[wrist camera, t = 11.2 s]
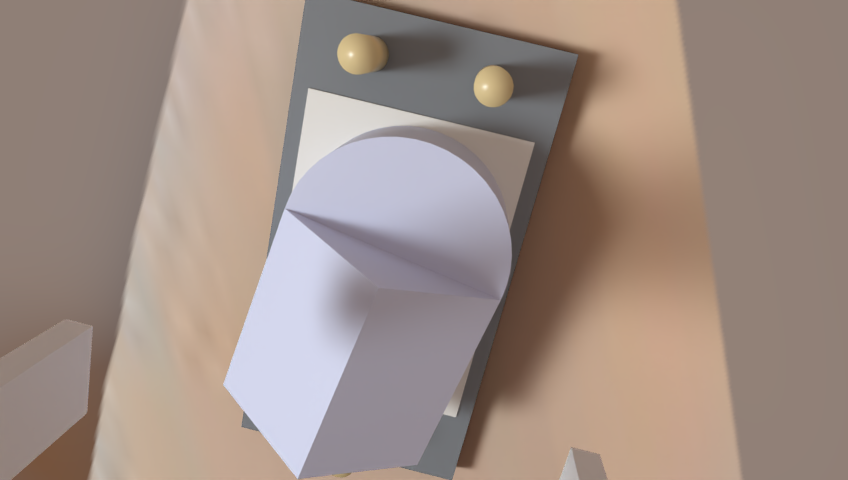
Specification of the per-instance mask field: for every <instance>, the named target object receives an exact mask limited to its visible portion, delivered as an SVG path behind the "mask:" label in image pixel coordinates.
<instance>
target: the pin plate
mask: <svg viewBox="0 0 848 480" xmlns="http://www.w3.org/2000/svg"><path fill="white" fill-rule="evenodd" d="M577 58H578V54H574V53H570V52H566V51H561V50H557V49H553V48H549V47H545V46H540V45H536V44H532V43H528V42H524V41H520V40H515V39H511V38H507V37H503V36H499V35H494V34H490V33H486V32H482V31H478V30H473V29H469V28H465V27H461V26H457V25H453V24H448V23H444V22H440V21H436V20H432V19H427V18H423V17H419V16H415V15H411V14H406V13H402V12H398V11H394V10H390V9H386V8H381V7H377V6H373V5H369V4H365V3H360V2H356V1H352V0H305V5H304V12H303V19H302V25H301V32H300V39H299V45H298V52H297V59H296V66H295V72H294V79H293V86H292V92H291V99H290V106H289V112H288V119H287V126H286V132H285V139H284V146H283V152H282V159H281V166H280V173H279V179H278V186H277V193H276V199H275V206H274V213H273V219H272V226H271V233H270V239H269V246H268V253H267V258H268V255H269V252H270V249H271V246H272V243H273V240H274V237H275V235H276V232H277V229H278V226H279V223H280V220H281V217H282V214H283V212H284V209H285V206H286V204H287V202H288V199H289V197H290V195H291V193H292V191H293V190H294V188H295V187H296V185H297V183H298V182H299V180H300V179H301V178H302V177H303V176H304V175H305V173H306V172H307V171H308V170H309V169H310V168H311V167H312V166H313V165H315V164H316V163H317V162H318V161H319V160H320V159H322V158H323V157H325V156H326V155H328V154H329V153H331V152H332V151H334V150H335V149H337V148H338V147H340V146H341V145H343V144H344V143H346V142H347V141H349V140H351V139H352V138H354V137H356V136H358V135H360V134H363V133H365V132H368V131H371V130H374V129H378V128H383V127H390V126H415V127H422V128H426V129H430V130H434V131H437V132H440V133H442V134H444V135H447V136H449V137H451V138H453V139H455V140H456V141H458V142H460V143H461V144H463V145H464V146H466V147H467V148H468V149H469V150H471V151H472V152H473V153H474V154H475V155H476V156H477V157H478V158H479V159H480V160H481V161H482V162H483V163H484V164H485V165H486V167H487V168H488V169H489V171H490V172H491V174H492V175H493V177H494V178H495V180H496V182H497V184H498V186H499V188H500V190H501V193H502V196H503V199H504V202H505V206H506V212H507V217H508V223H509V230H510V236H511V247H512V260H511V270H510V275H509V279H508V283H507V286H506V289H505V291H504V294H503V296H502V298H501V301H500V303H499V305H498V307H497V309H496V311H495V313H494V314H493V316H492V318H491V320H490V322H489V324H488V326H487V328H486V330H485V332H484V334H483V336H482V338H481V340H480V342H479V344H478V346H477V348H476V350H475V352H474V354H473V356H472V358H471V360H470V362H469V364H468V366H467V368H466V370H465V372H464V374H463V376H462V378H461V380H460V382H459V384H458V386H457V387H456V389H455V391H454V393H453V395H452V397H451V399H450V401H449V403H448V405H447V407H446V409H445V411H444V413H443V415H442V417H441V419H440V421H439V423H438V425H437V427H436V429H435V431H434V433H433V435H432V437H431V439H430V441H429V443H428V445H427V447H426V449H425V451H424V453H423V455H422V457H421V459H420V460H419V462H418V464H417V465H411V466H403V467H401V468H405V469H409V470H413V471H417V472H421V473H425V474H429V475H433V476H437V477H441V478H445V479H449V480H452V479H453V475H454V472H455V468H456V465H457V462H458V458H459V455H460V452H461V448H462V445H463V442H464V438H465V435H466V431H467V428H468V425H469V421H470V418H471V415H472V411H473V408H474V405H475V401H476V398H477V394H478V391H479V388H480V384H481V381H482V378H483V374H484V371H485V368H486V364H487V361H488V357H489V354H490V351H491V347H492V344H493V341H494V337H495V334H496V331H497V327H498V324H499V320H500V317H501V314H502V310H503V307H504V304H505V300H506V297H507V294H508V290H509V287H510V283H511V280H512V277H513V273H514V270H515V267H516V263H517V260H518V257H519V253H520V250H521V246H522V243H523V240H524V236H525V233H526V230H527V226H528V223H529V220H530V216H531V213H532V210H533V206H534V203H535V199H536V196H537V193H538V189H539V186H540V183H541V179H542V176H543V173H544V169H545V166H546V162H547V159H548V156H549V152H550V149H551V146H552V142H553V139H554V136H555V132H556V129H557V125H558V122H559V119H560V115H561V112H562V109H563V105H564V102H565V99H566V95H567V92H568V88H569V85H570V82H571V78H572V75H573V72H574V68H575V65H576V62H577ZM242 427H244V428H248V429H252V430H256V431H259V429H258V428H257V427H256V426H255V424H254V423H253V422H252V421H251V419H250V418H249V417H248V416H247V414H246V413H245V412H244V413H243V420H242ZM350 474H351V473H344V474H335V475H333V476H335V477H346V476H348V475H350Z"/></svg>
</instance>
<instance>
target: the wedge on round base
mask: <svg viewBox="0 0 848 480" xmlns="http://www.w3.org/2000/svg"><path fill="white" fill-rule="evenodd" d="M511 260H512V247H511V236H510V230H509V223H508V217H507V212H506V206H505V202H504V199H503V196H502V193H501V190H500V188H499V186H498V184H497V182H496V180H495V178H494V177H493V175H492V174H491V172H490V171H489V169H488V168H487V167H486V165H485V164H484V163H483V162H482V161H481V160H480V159H479V158H478V157H477V156H476V155H475V154H474V153H473V152H472V151H471V150H469V149H468V148H467V147H466V146H464V145H463V144H461V143H460V142H458V141H456V140H455V139H453V138H451V137H449V136H447V135H444V134H442V133H440V132H437V131H434V130H430V129H426V128H422V127H415V126H390V127H383V128H378V129H374V130H371V131H368V132H365V133H363V134H360V135H358V136H356V137H354V138H352V139H351V140H349V141H347V142H346V143H344V144H343V145H341V146H340V147H338V148H337V149H335V150H334V151H332V152H331V153H329V154H328V155H326V156H325V157H323V158H322V159H320V160H319V161H318V162H317V163H316V164H315V165H313V166H312V167H311V168H310V169H309V170H308V171H307V172H306V173H305V175H304V176H303V177H302V178H301V179H300V180H299V182H298V183H297V185H296V187H295V188H294V190H293V191H292V193H291V195H290V197H289V199H288V202H287V204H286V206H285V209H284V212H283V214H282V217H281V220H280V223H279V226H278V229H277V232H276V235H275V237H274V240H273V243H272V246H271V249H270V252H269V255H268V258H267V260H266V263H265V266H264V269H263V272H262V275H261V278H260V281H259V283H258V286H257V289H256V292H255V295H254V298H253V301H252V304H251V306H250V309H249V312H248V315H247V318H246V321H245V324H244V327H243V329H242V332H241V335H240V338H239V341H238V344H237V347H236V349H235V352H234V355H233V358H232V361H231V364H230V367H229V370H228V372H227V375H226V378H225V381H224V384H223V385H224V386H225V388H226V389H227V390H228V391H229V393H230V394H231V395H232V397H233V398H234V399H235V400H236V402H237V403H238V404H239V405H240V407H241V408H242V409H243V410H244V412H245V413H246V414H247V416H248V417H249V418H250V419H251V421H252V422H253V423H254V424H255V426H256V427H257V428H258V429H259V431H260V432H261V433H262V434H263V436H264V437H265V438H266V440H267V441H268V442H269V443H270V445H271V446H272V447H273V448H274V450H275V451H276V452H277V453H278V455H279V456H280V457H281V459H282V460H283V461H284V462H285V464H286V465H287V466H288V467H289V469H290V470H291V471H292V472H293V474H294V475H295V476H296V478H297V479H301V478H310V477H318V476H327V475H335V474H344V473H352V472H361V471H369V470H377V469H386V468H394V467H403V466H411V465H417V464H418V462H419V460H420V459H421V457H422V455H423V453H424V451H425V449H426V447H427V445H428V443H429V441H430V439H431V437H432V435H433V433H434V431H435V429H436V427H437V425H438V423H439V421H440V419H441V417H442V415H443V413H444V411H445V409H446V407H447V405H448V403H449V401H450V399H451V397H452V395H453V393H454V391H455V389H456V387H457V386H458V384H459V382H460V380H461V378H462V376H463V374H464V372H465V370H466V368H467V366H468V364H469V362H470V360H471V358H472V356H473V354H474V352H475V350H476V348H477V346H478V344H479V342H480V340H481V338H482V336H483V334H484V332H485V330H486V328H487V326H488V324H489V322H490V320H491V318H492V316H493V314H494V313H495V311H496V309H497V307H498V305H499V303H500V301H501V298H502V296H503V294H504V291H505V289H506V286H507V283H508V279H509V275H510V270H511Z"/></svg>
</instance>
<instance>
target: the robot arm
mask: <svg viewBox="0 0 848 480" xmlns="http://www.w3.org/2000/svg"><path fill="white" fill-rule="evenodd" d="M92 329H93V326H91V325H87V324H83V323H79V322H75V321H71V320H67V319H65V320H63V321H61V322H60V323H58V324H56V325H55V326H53V327H52V328H50V329H48V330H46V331H45V332H43V333H41V334H40V335H38V336H37V337H35V338H33V339H32V340H30V341H28V342H27V343H25V344H23V345H22V346H20V347H18V348H17V349H15V350H13V351H12V352H10V353H8V354H7V355H5V356H3V357H2V358H0V480H11V479H12V478H13V477H14V476H15V475H17V474H18V473H19V472H20V471H21V470H23V469H24V468H25V467H26V466H27V465H28V464H29V463H30V462H32V461H33V460H34V459H35V458H36V457H37V456H38V455H40V454H41V453H42V452H43V451H44V450H45V449H46V448H47V447H49V446H50V445H51V444H52V443H53V442H54V441H56V440H57V439H58V438H59V437H60V436H61V435H62V434H63V433H65V432H66V431H67V430H68V429H69V428H70V427H71V426H73V425H74V424H75V423H76V422H77V421H78V420H79V419H81V418H82V417H83V416H84V415H85V414H86V413H87V405H88V390H89V375H90V360H91V345H92ZM560 480H608V479H607V476H606V473H605V470H604V467H603V463H602V460H601V457H600V454H596V453H592V452H588V451H584V450H580V449H576V448H573V447H571V449H570V452H569V455H568V458H567V460H566V463H565V466H564V469H563V472H562V474H561V477H560Z"/></svg>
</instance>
